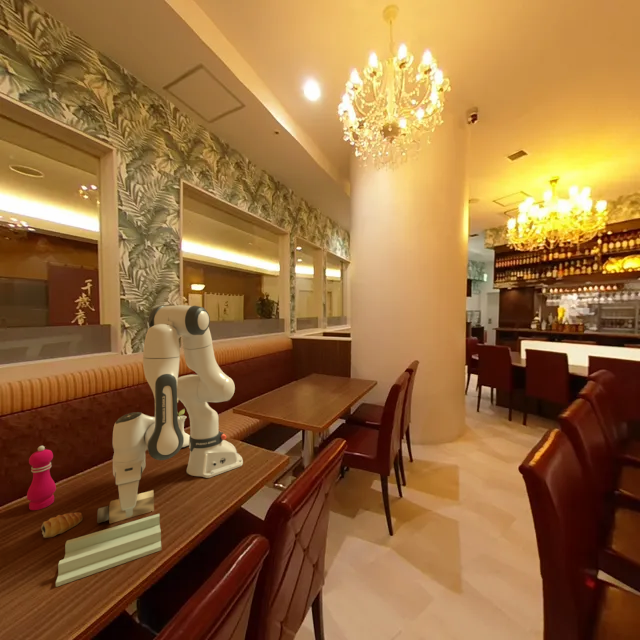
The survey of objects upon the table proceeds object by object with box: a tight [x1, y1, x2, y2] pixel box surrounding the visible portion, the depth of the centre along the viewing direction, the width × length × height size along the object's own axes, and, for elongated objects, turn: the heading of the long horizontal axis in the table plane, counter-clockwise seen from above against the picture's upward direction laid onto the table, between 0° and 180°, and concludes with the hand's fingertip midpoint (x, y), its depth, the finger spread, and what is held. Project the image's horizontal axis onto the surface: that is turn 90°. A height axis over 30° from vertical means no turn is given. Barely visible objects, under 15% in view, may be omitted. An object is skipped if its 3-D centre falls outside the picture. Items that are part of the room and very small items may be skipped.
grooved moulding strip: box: [55, 513, 162, 588], centre depth 82 cm, size 22×14×4 cm, turn 120°
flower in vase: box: [177, 398, 191, 448], centre depth 147 cm, size 13×11×25 cm
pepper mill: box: [26, 445, 57, 511], centre depth 102 cm, size 7×7×20 cm
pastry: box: [41, 511, 83, 539], centre depth 91 cm, size 9×7×4 cm
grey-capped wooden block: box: [96, 489, 155, 525], centre depth 96 cm, size 15×4×5 cm, turn 121°
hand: (130, 507), depth 97 cm, fingers open, 7 cm apart
